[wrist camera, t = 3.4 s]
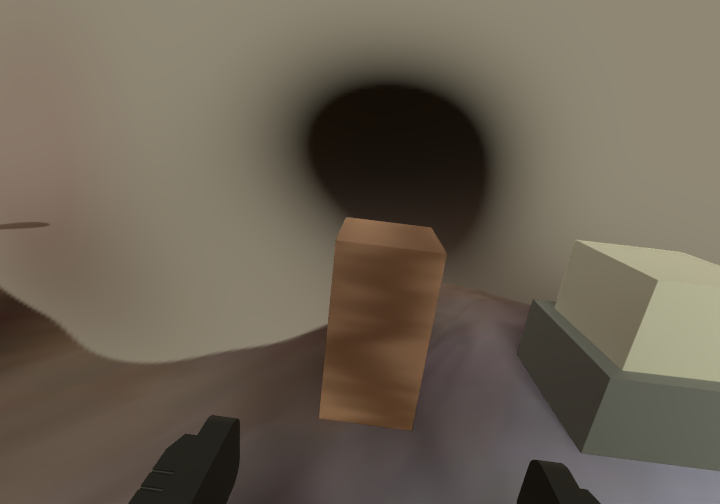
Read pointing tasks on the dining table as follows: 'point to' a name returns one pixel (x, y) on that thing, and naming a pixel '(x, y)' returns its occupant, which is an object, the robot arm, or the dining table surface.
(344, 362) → the wooden block
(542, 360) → the tower base
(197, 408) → the dining table surface
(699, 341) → the tower top
